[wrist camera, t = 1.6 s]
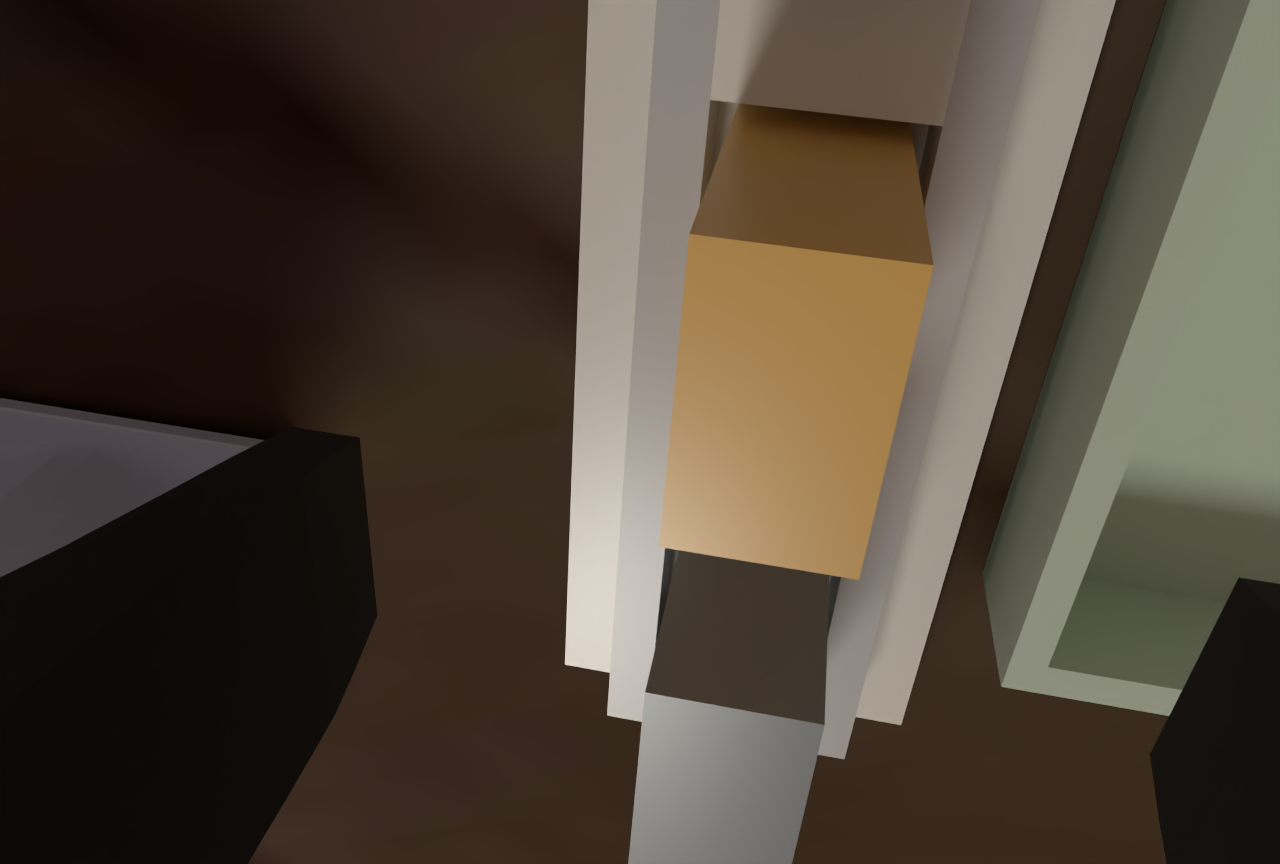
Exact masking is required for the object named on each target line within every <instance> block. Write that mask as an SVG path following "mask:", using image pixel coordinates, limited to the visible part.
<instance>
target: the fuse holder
mask: <svg viewBox="0 0 1280 864" xmlns="http://www.w3.org/2000/svg"><path fill="white" fill-rule="evenodd" d="M1115 1H1116V0H589V4H588V32H587V60H586V88H585V116H584V144H583V173H582V201H581V229H580V257H579V285H578V313H577V341H576V369H575V398H574V426H573V454H572V482H571V510H570V538H569V566H568V595H567V623H566V651H565V665H571V666H576V667H582V668H587V669H593V670H598V671H604V672H610V682H609V696H608V711H607V715H608V716H613V717H619V718H624V719H630V720H635V721H640V722H642V718H643V708H644V697H645V690H646V686H647V682H648V677H649V673H650V669H651V665H652V660H653V656H654V652H655V648H656V643H657V639H658V635H659V630H660V626H661V622H662V618H663V613H664V609H665V605H666V601H667V596H668V592H669V588H670V584H671V579H672V575H673V571H674V567H675V562H676V558H677V554H678V550H675V549H668V548H662V547H659V542H660V532H661V521H662V511H663V500H664V490H665V480H666V469H667V459H668V449H669V438H670V428H671V417H672V407H673V397H674V386H675V376H676V366H677V355H678V345H679V335H680V324H681V314H682V303H683V293H684V283H685V272H686V262H687V252H688V241H689V233H690V231H691V228H692V225H693V223H694V220H695V217H696V215H697V212H698V209H699V207H700V204H701V202H702V199H703V196H704V194H705V191H706V188H707V186H708V183H709V180H710V178H711V175H712V173H713V170H714V167H715V165H716V162H717V159H718V157H719V154H720V151H721V149H722V146H723V143H724V141H725V138H726V136H727V133H728V130H729V128H730V125H731V122H732V120H733V117H734V114H735V112H736V109H737V107H738V104H739V103H742V104H750V105H759V106H768V107H777V108H786V109H795V110H803V111H812V112H821V113H830V114H839V115H848V116H856V117H865V118H874V119H883V120H892V121H901V122H909V123H910V126H911V132H912V138H913V144H914V150H915V156H916V162H917V168H918V174H919V180H920V186H921V192H922V198H923V204H924V210H925V216H926V222H927V228H928V234H929V240H930V246H931V252H932V258H933V264H934V267H933V271H932V275H931V279H930V284H929V288H928V292H927V296H926V300H925V305H924V309H923V313H922V317H921V321H920V326H919V330H918V334H917V338H916V342H915V347H914V351H913V355H912V359H911V364H910V368H909V372H908V376H907V380H906V385H905V389H904V393H903V397H902V401H901V406H900V410H899V414H898V418H897V422H896V427H895V431H894V435H893V439H892V444H891V448H890V452H889V456H888V460H887V465H886V469H885V473H884V477H883V481H882V486H881V490H880V494H879V498H878V502H877V507H876V511H875V515H874V519H873V524H872V528H871V532H870V536H869V540H868V545H867V549H866V553H865V557H864V561H863V566H862V570H861V574H860V578H859V580H857V579H850V578H844V577H838V576H832V575H830V578H829V608H828V638H827V669H826V699H825V726H824V730H823V734H822V738H821V742H820V747H819V751H818V754H819V755H824V756H830V757H835V758H840V759H845V755H846V751H847V747H848V743H849V739H850V735H851V732H852V728H853V724H854V720H855V717H859V718H865V719H870V720H876V721H881V722H887V723H893V724H898V725H901V723H902V720H903V717H904V713H905V710H906V707H907V703H908V700H909V696H910V693H911V690H912V686H913V683H914V680H915V676H916V673H917V669H918V666H919V663H920V659H921V656H922V653H923V649H924V646H925V642H926V639H927V636H928V632H929V629H930V626H931V622H932V619H933V615H934V612H935V609H936V605H937V602H938V599H939V595H940V592H941V588H942V585H943V582H944V578H945V575H946V572H947V568H948V565H949V561H950V558H951V555H952V551H953V548H954V545H955V541H956V538H957V534H958V531H959V528H960V524H961V521H962V518H963V514H964V511H965V508H966V504H967V501H968V497H969V494H970V491H971V487H972V484H973V481H974V477H975V474H976V470H977V467H978V464H979V460H980V457H981V454H982V450H983V447H984V443H985V440H986V437H987V433H988V430H989V427H990V423H991V420H992V416H993V413H994V410H995V406H996V403H997V400H998V396H999V393H1000V389H1001V386H1002V383H1003V379H1004V376H1005V373H1006V369H1007V366H1008V362H1009V359H1010V356H1011V352H1012V349H1013V346H1014V342H1015V339H1016V335H1017V332H1018V329H1019V325H1020V322H1021V319H1022V315H1023V312H1024V308H1025V305H1026V302H1027V298H1028V295H1029V292H1030V288H1031V285H1032V281H1033V278H1034V275H1035V271H1036V268H1037V265H1038V261H1039V258H1040V254H1041V251H1042V248H1043V244H1044V241H1045V238H1046V234H1047V231H1048V227H1049V224H1050V221H1051V217H1052V214H1053V211H1054V207H1055V204H1056V201H1057V197H1058V194H1059V190H1060V187H1061V184H1062V180H1063V177H1064V174H1065V170H1066V167H1067V163H1068V160H1069V157H1070V153H1071V150H1072V147H1073V143H1074V140H1075V136H1076V133H1077V130H1078V126H1079V123H1080V120H1081V116H1082V113H1083V109H1084V106H1085V103H1086V99H1087V96H1088V93H1089V89H1090V86H1091V82H1092V79H1093V76H1094V72H1095V69H1096V66H1097V62H1098V59H1099V55H1100V52H1101V49H1102V45H1103V42H1104V39H1105V35H1106V32H1107V28H1108V25H1109V22H1110V18H1111V15H1112V12H1113V8H1114V5H1115Z"/></svg>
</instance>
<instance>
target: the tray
mask: <svg viewBox="0 0 1280 864" xmlns="http://www.w3.org/2000/svg"><path fill="white" fill-rule="evenodd" d="M982 573H983V579H984V585H985V591H986V597H987V604H988V610H989V616H990V622H991V628H992V634H993V640H994V646H995V652H996V659H997V665H998V671H999V677H1000V683H1001V687H1006V688H1012V689H1018V690H1023V691H1029V692H1035V693H1041V694H1046V695H1052V696H1058V697H1063V698H1069V699H1075V700H1081V701H1086V702H1092V703H1098V704H1104V705H1109V706H1115V707H1121V708H1127V709H1132V710H1138V711H1144V712H1150V713H1155V714H1161V715H1167V716H1170V714H1171V712H1172V710H1173V708H1174V706H1175V704H1176V702H1177V700H1178V698H1179V696H1180V694H1181V692H1182V690H1183V688H1184V686H1185V684H1186V682H1187V680H1188V678H1189V676H1190V674H1191V672H1192V670H1193V668H1194V666H1195V664H1196V662H1197V660H1198V658H1199V656H1200V654H1201V652H1202V650H1203V648H1204V646H1205V644H1206V642H1207V640H1208V638H1209V636H1210V634H1211V632H1212V630H1213V628H1214V626H1215V624H1216V622H1217V620H1218V618H1219V616H1220V614H1221V612H1222V610H1223V608H1224V606H1225V604H1226V602H1227V600H1228V598H1229V596H1230V594H1231V592H1232V590H1233V588H1234V586H1235V584H1236V582H1237V580H1238V578H1239V577H1240V578H1246V579H1252V580H1258V581H1265V582H1271V583H1277V584H1280V0H1166V3H1165V6H1164V9H1163V12H1162V15H1161V19H1160V22H1159V25H1158V28H1157V31H1156V34H1155V37H1154V40H1153V43H1152V47H1151V50H1150V53H1149V56H1148V59H1147V62H1146V65H1145V68H1144V71H1143V75H1142V78H1141V81H1140V84H1139V87H1138V90H1137V93H1136V96H1135V99H1134V103H1133V106H1132V109H1131V112H1130V115H1129V118H1128V121H1127V124H1126V127H1125V131H1124V134H1123V137H1122V140H1121V143H1120V146H1119V149H1118V152H1117V155H1116V159H1115V162H1114V165H1113V168H1112V171H1111V174H1110V177H1109V180H1108V183H1107V187H1106V190H1105V193H1104V196H1103V199H1102V202H1101V205H1100V208H1099V211H1098V215H1097V218H1096V221H1095V224H1094V227H1093V230H1092V233H1091V236H1090V239H1089V243H1088V246H1087V249H1086V252H1085V255H1084V258H1083V261H1082V264H1081V267H1080V271H1079V274H1078V277H1077V280H1076V283H1075V286H1074V289H1073V292H1072V295H1071V299H1070V302H1069V305H1068V308H1067V311H1066V314H1065V317H1064V320H1063V323H1062V327H1061V330H1060V333H1059V336H1058V339H1057V342H1056V345H1055V348H1054V351H1053V355H1052V358H1051V361H1050V364H1049V367H1048V370H1047V373H1046V376H1045V379H1044V383H1043V386H1042V389H1041V392H1040V395H1039V398H1038V401H1037V404H1036V407H1035V411H1034V414H1033V417H1032V420H1031V423H1030V426H1029V429H1028V432H1027V435H1026V439H1025V442H1024V445H1023V448H1022V451H1021V454H1020V457H1019V460H1018V463H1017V467H1016V470H1015V473H1014V476H1013V479H1012V482H1011V485H1010V488H1009V491H1008V495H1007V498H1006V501H1005V504H1004V507H1003V510H1002V513H1001V516H1000V519H999V523H998V526H997V529H996V532H995V535H994V538H993V541H992V544H991V547H990V551H989V554H988V557H987V560H986V563H985V566H984V569H983V572H982Z"/></svg>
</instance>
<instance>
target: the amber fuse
mask: <svg viewBox="0 0 1280 864" xmlns="http://www.w3.org/2000/svg"><path fill="white" fill-rule="evenodd" d="M933 267H934V264H933V258H932V252H931V246H930V240H929V234H928V228H927V222H926V216H925V210H924V204H923V198H922V192H921V186H920V180H919V174H918V168H917V162H916V156H915V150H914V144H913V138H912V132H911V126H910V123H909V122H901V121H892V120H883V119H874V118H865V117H856V116H848V115H839V114H830V113H821V112H812V111H803V110H795V109H786V108H777V107H768V106H759V105H750V104H742V103H739V104H738V107H737V109H736V112H735V114H734V117H733V120H732V122H731V125H730V128H729V130H728V133H727V136H726V138H725V141H724V143H723V146H722V149H721V151H720V154H719V157H718V159H717V162H716V165H715V167H714V170H713V173H712V175H711V178H710V180H709V183H708V186H707V188H706V191H705V194H704V196H703V199H702V202H701V204H700V207H699V209H698V212H697V215H696V217H695V220H694V223H693V225H692V228H691V231H690V233H689V241H688V252H687V262H686V272H685V283H684V293H683V303H682V314H681V324H680V335H679V345H678V355H677V366H676V376H675V386H674V397H673V407H672V417H671V428H670V438H669V449H668V459H667V469H666V480H665V490H664V500H663V511H662V521H661V532H660V542H659V547H662V548H668V549H675V550H681V551H687V552H693V553H699V554H705V555H711V556H717V557H723V558H729V559H735V560H741V561H747V562H753V563H759V564H766V565H772V566H778V567H784V568H790V569H796V570H802V571H808V572H814V573H820V574H826V575H832V576H838V577H844V578H850V579H857V580H859V578H860V574H861V570H862V566H863V561H864V557H865V553H866V549H867V545H868V540H869V536H870V532H871V528H872V524H873V519H874V515H875V511H876V507H877V502H878V498H879V494H880V490H881V486H882V481H883V477H884V473H885V469H886V465H887V460H888V456H889V452H890V448H891V444H892V439H893V435H894V431H895V427H896V422H897V418H898V414H899V410H900V406H901V401H902V397H903V393H904V389H905V385H906V380H907V376H908V372H909V368H910V364H911V359H912V355H913V351H914V347H915V342H916V338H917V334H918V330H919V326H920V321H921V317H922V313H923V309H924V305H925V300H926V296H927V292H928V288H929V284H930V279H931V275H932V271H933Z"/></svg>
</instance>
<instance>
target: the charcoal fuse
mask: <svg viewBox="0 0 1280 864" xmlns="http://www.w3.org/2000/svg"><path fill="white" fill-rule="evenodd" d="M829 578H830V575H826V574H820V573H814V572H808V571H802V570H796V569H790V568H784V567H778V566H772V565H766V564H759V563H753V562H747V561H741V560H735V559H729V558H723V557H717V556H711V555H705V554H699V553H693V552H687V551H681V550H678V554H677V558H676V562H675V567H674V571H673V575H672V579H671V584H670V588H669V592H668V596H667V601H666V605H665V609H664V613H663V618H662V622H661V626H660V630H659V635H658V639H657V643H656V648H655V652H654V656H653V660H652V665H651V669H650V673H649V677H648V682H647V686H646V690H645V697H644V708H643V718H642V728H641V739H640V749H639V760H638V770H637V780H636V791H635V801H634V811H633V822H632V832H631V843H630V853H629V863H628V864H792V860H793V856H794V852H795V848H796V844H797V839H798V835H799V831H800V827H801V822H802V818H803V814H804V810H805V806H806V801H807V797H808V793H809V789H810V785H811V780H812V776H813V772H814V768H815V764H816V759H817V755H818V751H819V747H820V742H821V738H822V734H823V730H824V726H825V699H826V669H827V638H828V608H829Z"/></svg>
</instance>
